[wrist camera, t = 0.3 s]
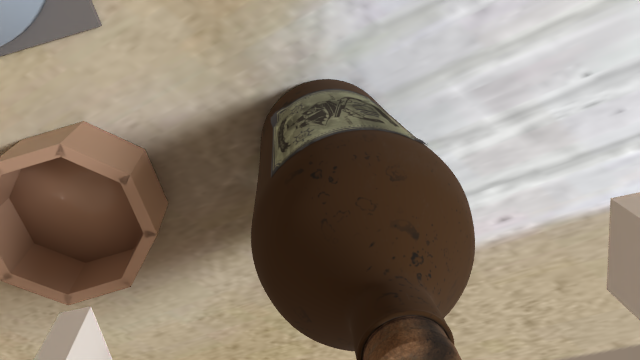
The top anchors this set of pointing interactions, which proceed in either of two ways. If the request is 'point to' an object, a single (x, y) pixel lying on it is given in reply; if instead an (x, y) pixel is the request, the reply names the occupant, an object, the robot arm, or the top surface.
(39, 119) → the top surface
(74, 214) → the bowl
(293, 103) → the olive oil
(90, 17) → the mat
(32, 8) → the lid
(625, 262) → the robot arm
